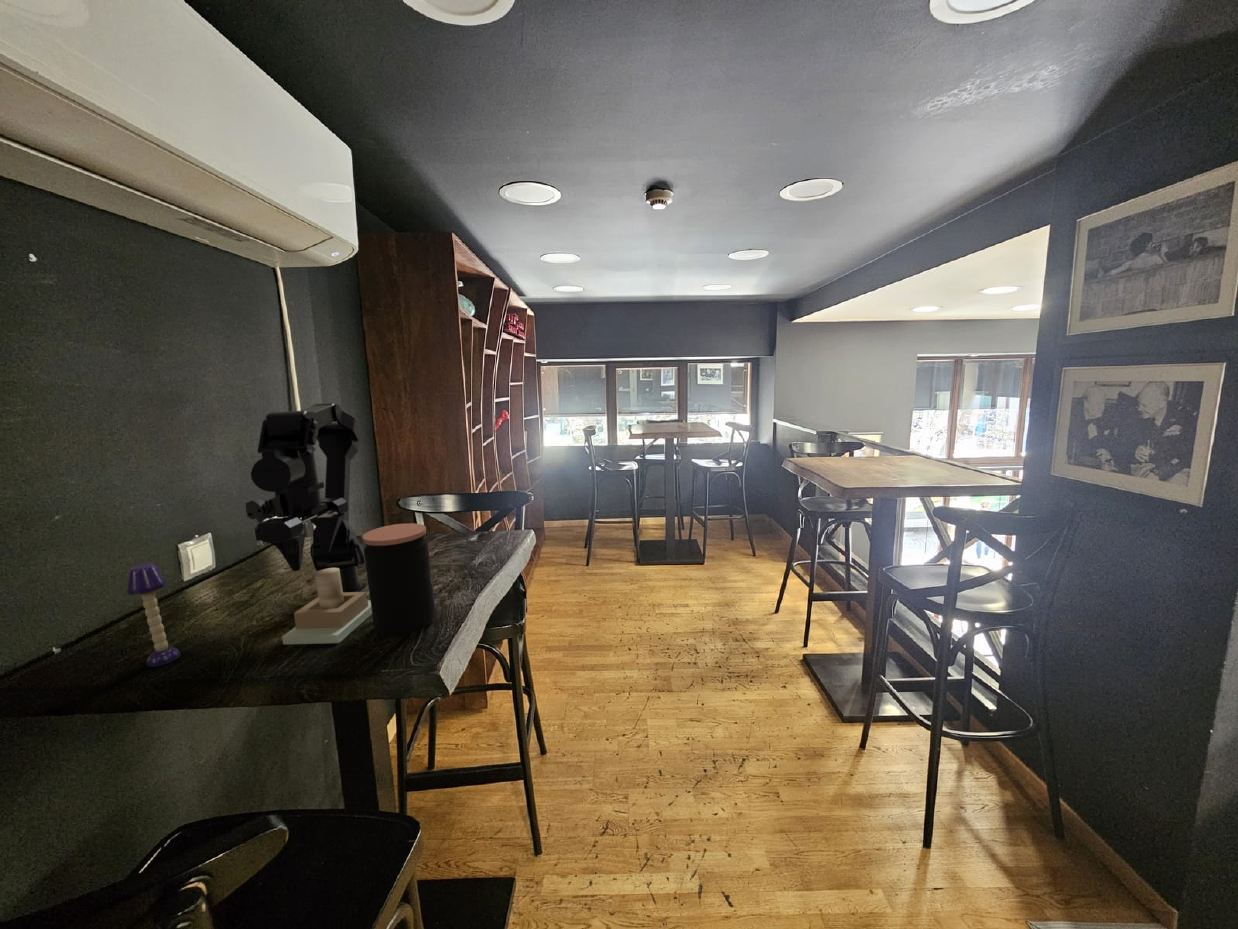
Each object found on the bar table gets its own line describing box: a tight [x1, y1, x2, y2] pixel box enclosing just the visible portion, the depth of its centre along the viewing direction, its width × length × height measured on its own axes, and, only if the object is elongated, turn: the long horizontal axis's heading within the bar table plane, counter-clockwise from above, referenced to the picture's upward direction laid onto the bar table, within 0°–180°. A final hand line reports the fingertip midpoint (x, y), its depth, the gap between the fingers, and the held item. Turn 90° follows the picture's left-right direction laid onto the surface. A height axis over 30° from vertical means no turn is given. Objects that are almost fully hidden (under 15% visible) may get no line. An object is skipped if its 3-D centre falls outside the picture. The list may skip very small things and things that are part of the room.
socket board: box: [281, 591, 372, 645], centre depth 92 cm, size 14×10×4 cm
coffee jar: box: [361, 522, 437, 637], centre depth 90 cm, size 11×11×18 cm
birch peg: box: [314, 568, 344, 609], centre depth 92 cm, size 4×4×9 cm
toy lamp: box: [126, 562, 181, 668], centre depth 81 cm, size 5×5×17 cm
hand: (312, 561), depth 92 cm, fingers open, 9 cm apart
